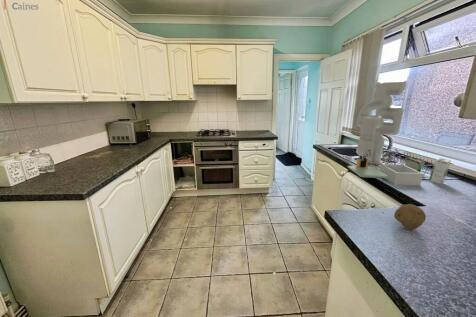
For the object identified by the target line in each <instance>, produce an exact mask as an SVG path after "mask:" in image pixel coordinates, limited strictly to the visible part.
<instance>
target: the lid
mask: <svg viewBox="0 0 476 317" xmlns="http://www.w3.org/2000/svg"><path fill="white" fill-rule="evenodd" d="M361 161H362V159H359V158H357V159H356V164H355V165H347V168H348V169H349V170H350V171H352V172H353V173H355V174H356V175H357V176H359V177H361V178H373V179H376V178H377V179H378V178H379V179H382V178H383V179H385V178H388V175H386V174H384V173H383V172H381V171H379V170H380V169H377V168H376V167H374V166H373V165H371V166H369V163H368V161H369V160H367V162H366V167H360V163H361Z"/></svg>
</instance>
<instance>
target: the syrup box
mask: <svg viewBox="0 0 476 317" xmlns="http://www.w3.org/2000/svg"><path fill="white" fill-rule="evenodd" d="M451 161H452V160H451V159H446V158H441V157H438V158H436V159H434V162H433V166H432V168H431V172H430V175H429V178H428V182H430V183H431V182H432V183H436V184H440V185H442V184H444V182H445V180H446V177H447V175H448V174H447V173H448V171H449V168H450V164H451Z"/></svg>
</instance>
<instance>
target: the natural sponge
mask: <svg viewBox="0 0 476 317" xmlns="http://www.w3.org/2000/svg"><path fill="white" fill-rule="evenodd" d="M394 218H395V220H396V221H398V222H399V223H400V224H401V225H402V226H403V227H404V228H405V227H406V228H405V229H407V228H408V229H407V230H410V229H411V230H415V229H418V228H421V226H422V225H423V224H424V222H425V221H426V218H427V217H426V213H425V211H424V210H423V209H422V208H421V207H419V206H417V205H415V204H412V203H408V204H407V203H405V204H402V205H400V206H399V207H398V208H397V209H396V210H395V211H394Z"/></svg>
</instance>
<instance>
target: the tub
mask: <svg viewBox="0 0 476 317" xmlns="http://www.w3.org/2000/svg"><path fill="white" fill-rule="evenodd" d="M378 170H379V171H381V172H383V173H384V174H386V175H388V178H384V180H387V181H388V182H390V183H391V184H393V186H394V185H397V186H421V184H422V180H423V177H424V173H423V172H419V171H416V170H414V169H412V168H410V167H408V166H406V165H405V164H397V163H396V164H391V163H389V164H388V163H385V164H384V163H382V164H379V169H378Z"/></svg>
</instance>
